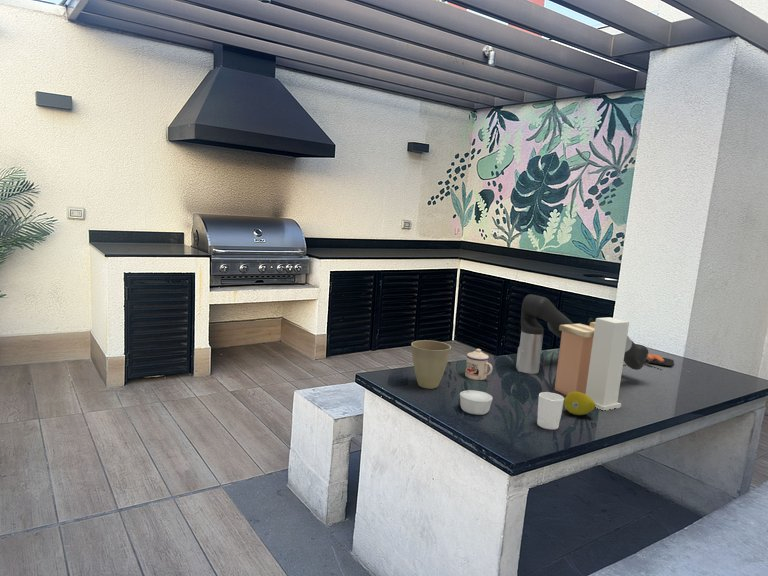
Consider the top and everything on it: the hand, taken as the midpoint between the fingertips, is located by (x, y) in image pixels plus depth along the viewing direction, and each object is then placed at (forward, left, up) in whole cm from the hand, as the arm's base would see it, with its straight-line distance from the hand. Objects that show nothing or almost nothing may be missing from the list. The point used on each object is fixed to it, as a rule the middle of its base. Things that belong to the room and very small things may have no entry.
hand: (598, 322), depth 218 cm
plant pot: (-65, -13, -28) cm, 72 cm away
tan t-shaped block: (-3, -2, -4) cm, 5 cm away
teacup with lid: (-44, +3, -28) cm, 52 cm away
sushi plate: (+39, +53, -28) cm, 72 cm away
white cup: (-26, -42, -28) cm, 57 cm away
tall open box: (-8, -5, -28) cm, 29 cm away
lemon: (-13, -29, -28) cm, 42 cm away
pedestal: (-1, -16, -28) cm, 32 cm away
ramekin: (-49, -34, -28) cm, 66 cm away
